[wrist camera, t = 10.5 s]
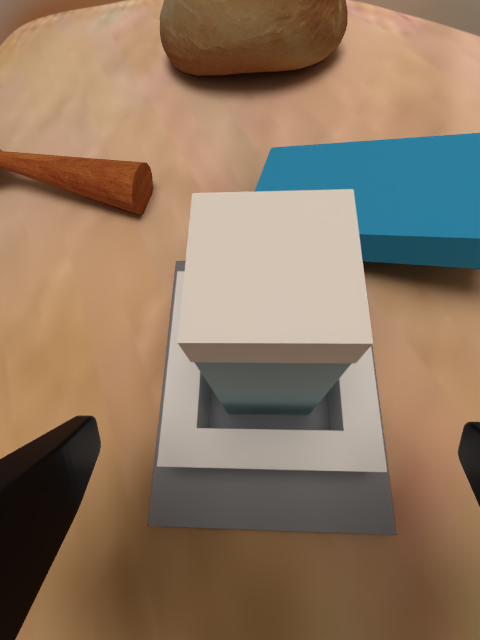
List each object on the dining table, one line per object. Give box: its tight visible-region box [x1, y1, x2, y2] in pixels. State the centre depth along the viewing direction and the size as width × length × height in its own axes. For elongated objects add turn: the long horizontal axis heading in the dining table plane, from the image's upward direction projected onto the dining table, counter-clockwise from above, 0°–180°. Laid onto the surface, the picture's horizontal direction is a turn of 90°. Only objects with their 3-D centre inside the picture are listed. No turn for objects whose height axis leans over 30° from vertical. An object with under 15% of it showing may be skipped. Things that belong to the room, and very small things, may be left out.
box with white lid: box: [177, 189, 373, 415], centre depth 13 cm, size 4×4×11 cm
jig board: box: [148, 261, 397, 535], centre depth 18 cm, size 14×11×4 cm
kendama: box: [0, 150, 153, 214], centre depth 24 cm, size 6×6×20 cm
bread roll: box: [160, 0, 347, 76], centre depth 27 cm, size 10×15×8 cm, turn 90°
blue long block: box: [255, 133, 480, 269], centre depth 21 cm, size 7×7×18 cm
